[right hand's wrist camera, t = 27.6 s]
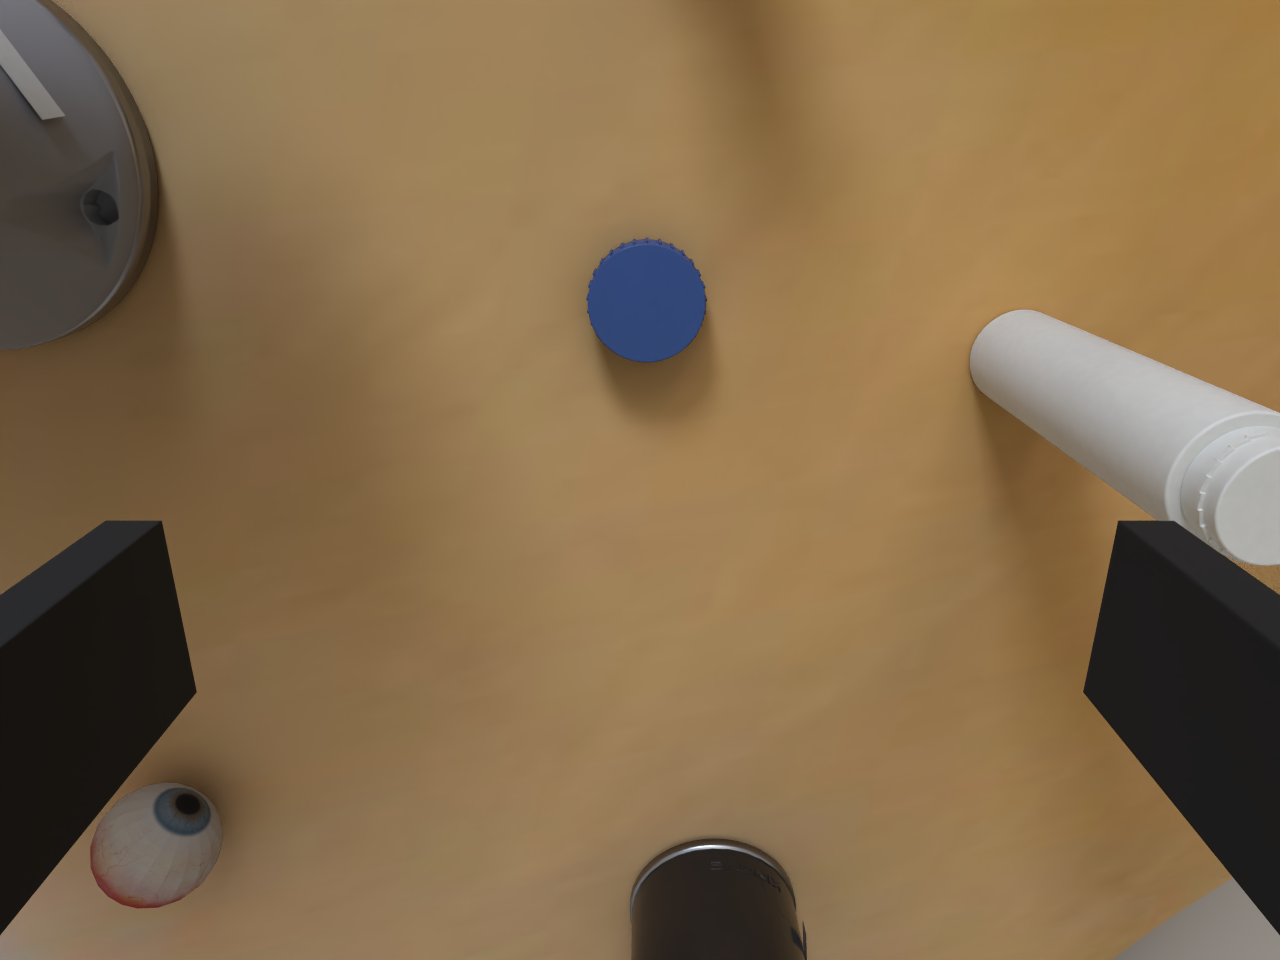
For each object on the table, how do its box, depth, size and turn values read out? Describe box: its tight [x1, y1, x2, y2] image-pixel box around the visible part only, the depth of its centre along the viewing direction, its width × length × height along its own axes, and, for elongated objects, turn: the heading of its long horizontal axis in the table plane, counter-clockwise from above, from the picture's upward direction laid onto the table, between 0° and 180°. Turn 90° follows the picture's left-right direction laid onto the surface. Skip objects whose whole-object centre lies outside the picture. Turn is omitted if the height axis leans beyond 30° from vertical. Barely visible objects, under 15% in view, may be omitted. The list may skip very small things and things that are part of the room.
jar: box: [970, 310, 1280, 566], centre depth 32 cm, size 4×4×18 cm
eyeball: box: [91, 782, 223, 908], centre depth 46 cm, size 6×6×6 cm
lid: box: [587, 238, 707, 362], centre depth 39 cm, size 5×5×2 cm
